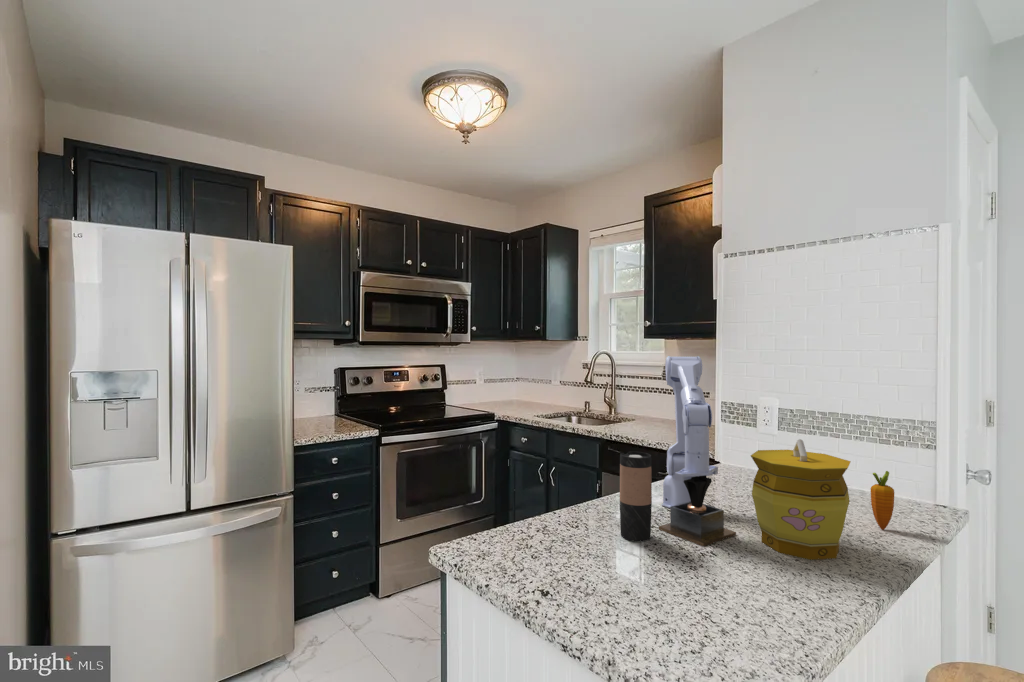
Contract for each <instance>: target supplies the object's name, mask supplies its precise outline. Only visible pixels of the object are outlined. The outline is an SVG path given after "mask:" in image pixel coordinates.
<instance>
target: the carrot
mask: <svg viewBox="0 0 1024 682" xmlns="http://www.w3.org/2000/svg"><path fill="white" fill-rule="evenodd" d="M872 475H873V477H874V478H875V480H876V482H877V483H876V484H873V485H872V486H871V487H870V504H871V511H872V514H873V518H874V519H875V521H876V523H877V525H878V527H879V528H880V529H881V531H885V529H887V527H888V525H889V524H890V522H891V519H892V517H893V512H894V507H895V489H894V488H893V487H891V486H890V485H887V482H888V480H889V475H890V471H888V470H885V473H884V474H883V476H882V477H881V476H880V477H879V475H878V474H877V473H876V472H872Z"/></svg>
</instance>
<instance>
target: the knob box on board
mask: <svg viewBox="0 0 1024 682" xmlns="http://www.w3.org/2000/svg"><path fill="white" fill-rule="evenodd" d="M688 504H691V501H690V502H686V503H682V504H678V505H675V506H671V507H670V508H669V509H670V511H669V512H670V517H669V518H670V519H669V520H670V521H669V523H666V524H662V525H658V530H660V531H662V532H665V533H667V534H668V535H669V534H670V535H672V536H674V537H678V538H680V539H683V540H685V541H687V542H690V543H693V544H696V545H699V546H701V547H706V546H708V545H711V544H715V543H717V542H720V541H723V540H726V539H729V538H732V537H735V536H737V532H736V531H733V530H732V529H728V528H725V524H724V523H725V522H724V521H725V520H724V519H725V510H724V509H722V508H718V507H716V506H714V505H710V504H706V503H705V504H704V503H703V505H704V506H706V512H705V513H699V515H697V514H695V512H691V511H689V510H688Z"/></svg>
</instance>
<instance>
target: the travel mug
mask: <svg viewBox="0 0 1024 682" xmlns="http://www.w3.org/2000/svg"><path fill="white" fill-rule="evenodd" d="M652 482H653V481H652V455H651V454H650V453H647V452H644V451H643V452H642V451H628V452H627V453H625V454H624V453H622V452H621V453H620V455H619V519H620V520H619V522H620V524H619V525H620V529H619V530H620V536H621V537H622V538H623V539H625V540H627V541H631V542H637V543H638V542H640V543H641V542H648V541H649V540H651V536H652V533H651V532H652V507H653V506H652V505H653V503H652V502H653V501H652V500H653V499H652V498H653V497H652V496H653V495H652V491H653V487H652Z"/></svg>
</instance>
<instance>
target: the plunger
mask: <svg viewBox="0 0 1024 682" xmlns="http://www.w3.org/2000/svg"><path fill="white" fill-rule="evenodd" d="M688 510H689V511H691V512H695V514H697V515H699V513H705V512H706V506H704V505H702V507H699V508H698V507H695V506H692V504H688Z"/></svg>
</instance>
